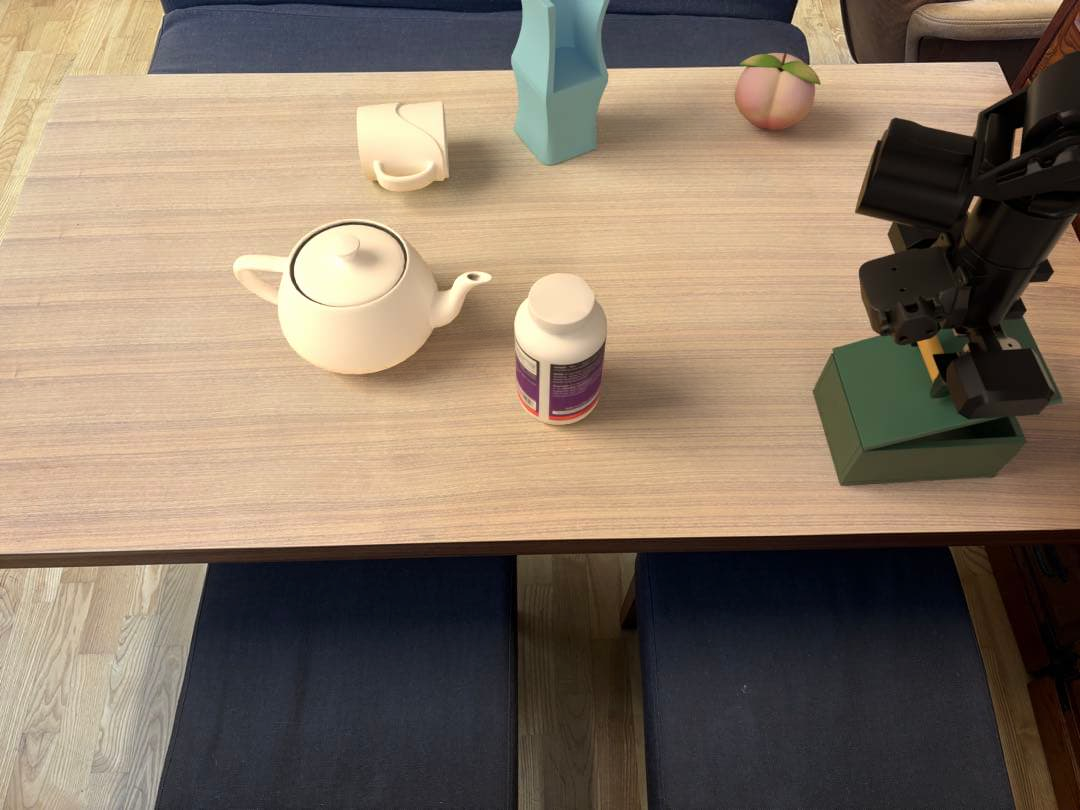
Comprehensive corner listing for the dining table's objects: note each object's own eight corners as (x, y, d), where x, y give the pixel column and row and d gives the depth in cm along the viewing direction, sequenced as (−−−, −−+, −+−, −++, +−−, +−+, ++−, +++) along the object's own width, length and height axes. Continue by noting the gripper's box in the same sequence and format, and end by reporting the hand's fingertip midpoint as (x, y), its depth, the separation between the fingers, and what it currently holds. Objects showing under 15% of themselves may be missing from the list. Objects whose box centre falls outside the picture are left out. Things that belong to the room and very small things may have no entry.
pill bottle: (609, 373, 83) (623, 275, 71) (585, 439, 79) (595, 347, 67) (532, 351, 85) (532, 251, 73) (504, 415, 81) (499, 320, 68)
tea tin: (956, 383, 83) (985, 345, 78) (994, 477, 78) (1027, 442, 72) (812, 390, 82) (831, 353, 77) (839, 485, 77) (862, 451, 72)
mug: (368, 143, 101) (357, 86, 95) (447, 139, 102) (441, 82, 95) (367, 215, 95) (354, 159, 88) (451, 211, 95) (445, 154, 89)
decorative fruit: (806, 110, 105) (830, 37, 97) (800, 153, 101) (824, 81, 93) (731, 97, 107) (748, 24, 98) (721, 139, 102) (738, 66, 94)
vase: (544, 168, 99) (547, 8, 82) (512, 129, 103) (509, -32, 86) (602, 146, 101) (616, -14, 85) (568, 109, 105) (576, -52, 88)
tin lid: (1013, 301, 73) (1016, 270, 69) (1062, 403, 67) (1067, 374, 64) (833, 352, 77) (826, 325, 74) (864, 451, 72) (858, 427, 68)
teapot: (229, 376, 83) (187, 294, 72) (277, 258, 91) (245, 170, 81) (482, 406, 81) (475, 326, 71) (507, 283, 90) (504, 196, 79)
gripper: (854, 154, 63) (804, 291, 76) (932, 355, 53) (860, 474, 66) (1002, 144, 63) (927, 283, 76) (1109, 343, 53) (1001, 464, 66)
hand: (925, 370), depth 71 cm, fingers closed on tin lid, 5 cm apart
